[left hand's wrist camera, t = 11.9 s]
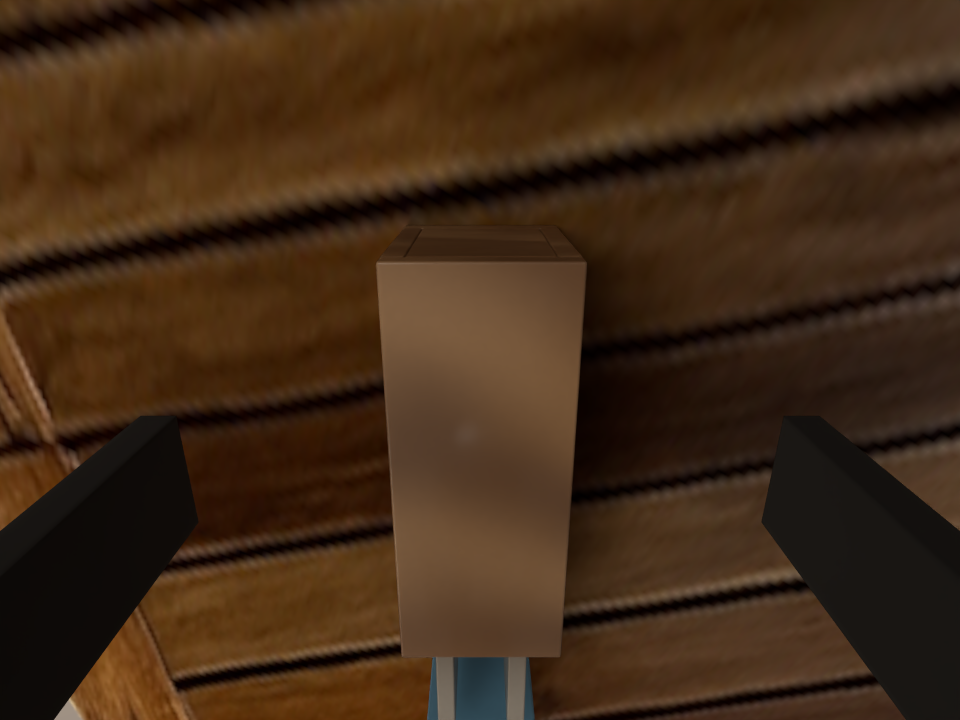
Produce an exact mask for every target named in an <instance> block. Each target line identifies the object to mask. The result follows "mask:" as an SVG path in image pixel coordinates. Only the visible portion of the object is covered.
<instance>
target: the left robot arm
mask: <svg viewBox="0 0 960 720" xmlns="http://www.w3.org/2000/svg"><path fill="white" fill-rule="evenodd" d="M197 524H198V517H197V513H196V508H195V503H194V498H193V494H192V489H191V484H190V479H189V475H188V470H187V465H186V460H185V456H184V451H183V446H182V441H181V437H180V432H179V427H178V422H177V418H176V416H140V417H139V418H138V419H136V420H135V421H134V422H133V423H131V424H130V425H129V426H128V427H127V428H125V429H124V430H123V431H122V432H120V433H119V434H118V435H117V436H116V437H114V438H113V439H112V440H111V441H109V442H108V443H107V444H106V445H105V446H103V447H102V448H101V449H100V450H99V451H97V452H96V453H95V454H94V455H92V456H91V457H90V458H89V459H88V460H86V461H85V462H84V463H83V464H81V465H80V466H79V467H78V468H77V469H75V470H74V471H73V472H72V473H70V474H69V475H68V476H67V477H66V478H64V479H63V480H62V481H61V482H59V483H58V484H57V485H56V486H55V487H53V488H52V489H51V490H50V491H49V492H47V493H46V494H45V495H44V496H42V497H41V498H40V499H39V500H38V501H36V502H35V503H34V504H33V505H31V506H30V507H29V508H28V509H27V510H25V511H24V512H23V513H22V514H20V515H19V516H18V517H17V518H16V519H14V520H13V521H12V522H11V523H9V524H8V525H7V526H6V527H5V528H3V529H2V530H1V531H0V720H54V719H55V718H56V716H57V715H58V713H59V712H60V711H61V709H62V708H63V707H64V705H65V704H66V702H67V701H68V700H69V698H70V697H71V696H72V694H73V693H74V692H75V690H76V689H77V687H78V686H79V685H80V683H81V682H82V681H83V679H84V678H85V677H86V675H87V674H88V672H89V671H90V670H91V668H92V667H93V666H94V664H95V663H96V662H97V660H98V659H99V657H100V656H101V655H102V653H103V652H104V651H105V649H106V648H107V646H108V645H109V644H110V642H111V641H112V640H113V638H114V637H115V636H116V634H117V633H118V631H119V630H120V629H121V627H122V626H123V625H124V623H125V622H126V621H127V619H128V618H129V616H130V615H131V614H132V612H133V611H134V610H135V608H136V607H137V606H138V604H139V603H140V601H141V600H142V599H143V597H144V596H145V595H146V593H147V592H148V590H149V589H150V588H151V586H152V585H153V584H154V582H155V581H156V580H157V578H158V577H159V575H160V574H161V573H162V571H163V570H164V569H165V567H166V566H167V565H168V563H169V562H170V560H171V559H172V558H173V556H174V555H175V554H176V552H177V551H178V550H179V548H180V547H181V545H182V544H183V543H184V541H185V540H186V539H187V537H188V536H189V534H190V533H191V532H192V530H193V529H194V528H195V526H196V525H197ZM762 524H763V525H764V526H765V528H766V529H767V530H768V532H769V533H770V534H771V536H772V537H773V539H774V540H775V541H776V543H777V544H778V545H779V547H780V548H781V550H782V551H783V552H784V554H785V555H786V556H787V558H788V559H789V560H790V562H791V563H792V565H793V566H794V567H795V569H796V570H797V571H798V573H799V574H800V575H801V577H802V578H803V580H804V581H805V582H806V584H807V585H808V586H809V588H810V589H811V590H812V592H813V593H814V595H815V596H816V597H817V599H818V600H819V601H820V603H821V604H822V606H823V607H824V608H825V610H826V611H827V612H828V614H829V615H830V616H831V618H832V619H833V621H834V622H835V623H836V625H837V626H838V627H839V629H840V630H841V631H842V633H843V634H844V636H845V637H846V638H847V640H848V641H849V642H850V644H851V645H852V646H853V648H854V649H855V651H856V652H857V653H858V655H859V656H860V657H861V659H862V660H863V662H864V663H865V664H866V666H867V667H868V668H869V670H870V671H871V672H872V674H873V675H874V677H875V678H876V679H877V681H878V682H879V683H880V685H881V686H882V687H883V689H884V690H885V692H886V693H887V694H888V696H889V697H890V698H891V700H892V701H893V702H894V704H895V705H896V707H897V708H898V709H899V711H900V712H901V713H902V715H903V716H904V718H905V719H906V720H960V531H959V530H958V529H957V528H955V527H954V526H953V525H952V524H951V523H949V522H948V521H947V520H946V519H944V518H943V517H942V516H941V515H940V514H938V513H937V512H936V511H935V510H933V509H932V508H931V507H930V506H929V505H927V504H926V503H925V502H924V501H922V500H921V499H920V498H919V497H918V496H916V495H915V494H914V493H913V492H911V491H910V490H909V489H908V488H907V487H905V486H904V485H903V484H902V483H901V482H899V481H898V480H897V479H896V478H894V477H893V476H892V475H891V474H890V473H888V472H887V471H886V470H885V469H883V468H882V467H881V466H880V465H879V464H877V463H876V462H875V461H874V460H872V459H871V458H870V457H869V456H868V455H866V454H865V453H864V452H863V451H861V450H860V449H859V448H858V447H857V446H855V445H854V444H853V443H852V442H851V441H849V440H848V439H847V438H846V437H844V436H843V435H842V434H841V433H840V432H838V431H837V430H836V429H835V428H833V427H832V426H831V425H830V424H829V423H827V422H826V421H825V420H824V419H822V418H821V417H820V416H784V418H783V422H782V427H781V432H780V437H779V441H778V446H777V451H776V456H775V460H774V465H773V470H772V475H771V479H770V484H769V489H768V494H767V498H766V503H765V508H764V513H763V517H762Z"/></svg>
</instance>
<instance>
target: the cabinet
mask: <svg viewBox="0 0 960 720" xmlns="http://www.w3.org/2000/svg"><path fill="white" fill-rule="evenodd" d="M376 272H377V287H378V302H379V318H380V333H381V348H382V363H383V379H384V394H385V409H386V424H387V440H388V455H389V470H390V485H391V501H392V516H393V531H394V546H395V562H396V577H397V592H398V607H399V623H400V638H401V653H402V657H560V656H561V645H562V630H563V616H564V601H565V586H566V571H567V556H568V541H569V527H570V512H571V497H572V482H573V467H574V453H575V438H576V423H577V408H578V393H579V379H580V364H581V349H582V334H583V319H584V304H585V290H586V275H587V262H586V261H585V259H584V258H583V257H582V256H581V254H580V253H579V252H578V251H577V250H576V249H575V247H574V246H573V245H572V244H571V243H570V242H569V240H568V239H567V238H566V237H565V236H564V235H563V233H562V232H561V231H560V230H559V229H558V227H557V226H555V225H407V226H405V227H404V229H403V230H402V231H401V233H400V234H399V235H398V236H397V237H396V239H395V240H394V241H393V242H392V243H391V245H390V246H389V247H388V248H387V249H386V251H385V252H384V253H383V254H382V256H381V257H380V258H379V260H378V261H377V263H376Z"/></svg>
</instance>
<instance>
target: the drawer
mask: <svg viewBox="0 0 960 720" xmlns="http://www.w3.org/2000/svg"><path fill="white" fill-rule="evenodd" d="M427 720H535V718H534V707H533V697H532V686H531V676H530V665H529V657H433V662H432V673H431V684H430V695H429V706H428V717H427Z"/></svg>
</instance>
